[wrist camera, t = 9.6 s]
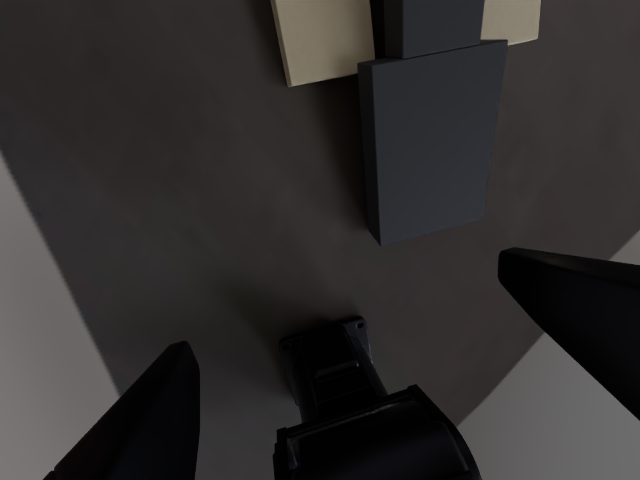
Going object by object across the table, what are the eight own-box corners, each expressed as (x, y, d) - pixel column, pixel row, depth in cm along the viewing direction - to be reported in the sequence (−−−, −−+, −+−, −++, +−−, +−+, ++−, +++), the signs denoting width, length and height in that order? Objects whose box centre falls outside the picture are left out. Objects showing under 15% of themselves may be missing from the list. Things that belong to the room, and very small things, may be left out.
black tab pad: (463, 206, 23) (482, 219, 21) (368, 231, 22) (380, 246, 20) (492, -61, 15) (525, -74, 14) (349, -41, 14) (365, -52, 13)
